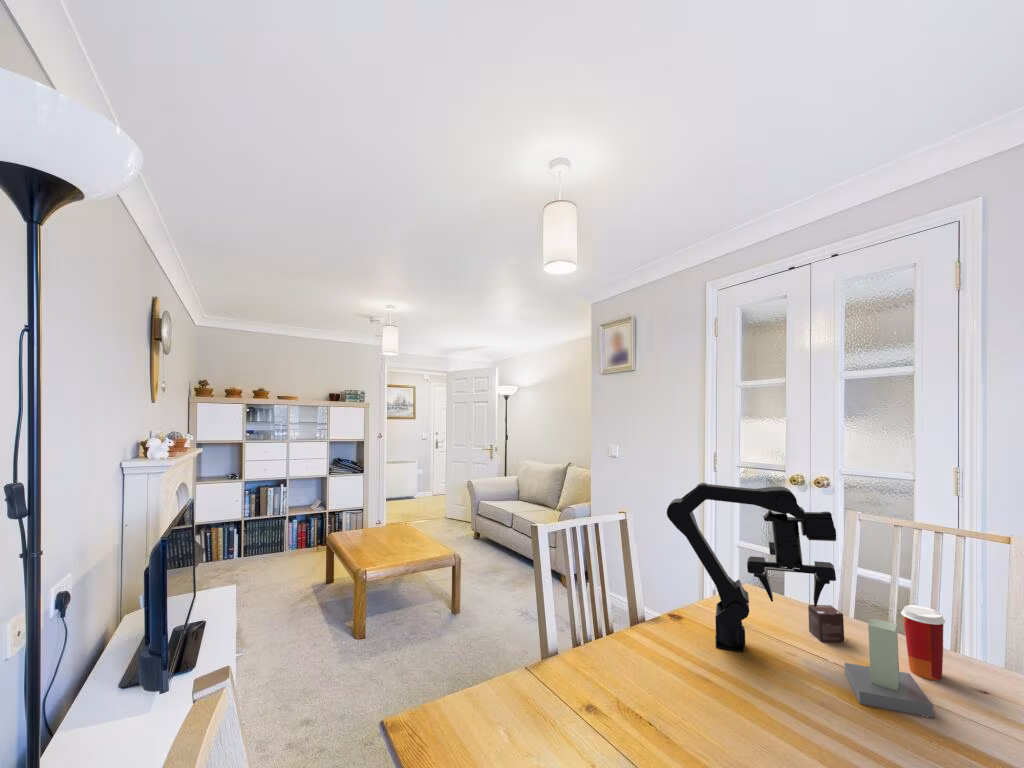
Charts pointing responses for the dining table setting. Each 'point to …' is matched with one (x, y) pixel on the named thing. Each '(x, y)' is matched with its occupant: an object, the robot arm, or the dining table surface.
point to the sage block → (884, 654)
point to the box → (826, 623)
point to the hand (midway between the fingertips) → (793, 603)
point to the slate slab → (888, 692)
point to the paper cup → (924, 641)
